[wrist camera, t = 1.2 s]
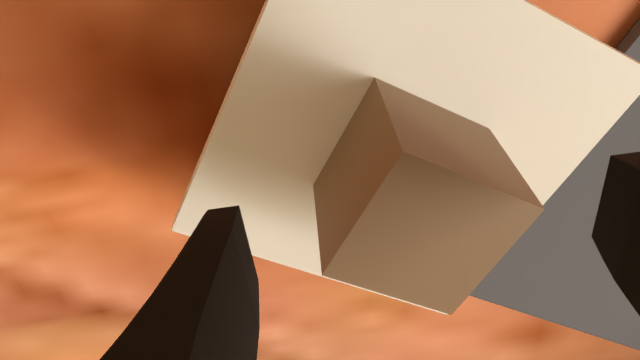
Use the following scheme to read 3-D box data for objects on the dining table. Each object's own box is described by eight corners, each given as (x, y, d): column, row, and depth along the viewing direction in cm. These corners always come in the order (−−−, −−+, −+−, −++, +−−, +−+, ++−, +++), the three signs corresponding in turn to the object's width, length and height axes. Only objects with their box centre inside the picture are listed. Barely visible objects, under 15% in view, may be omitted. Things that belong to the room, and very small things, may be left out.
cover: (642, 63, 16) (763, 144, 12) (441, 299, 21) (479, 409, 17) (314, -118, 13) (331, -89, 9) (175, 215, 18) (146, 327, 14)
